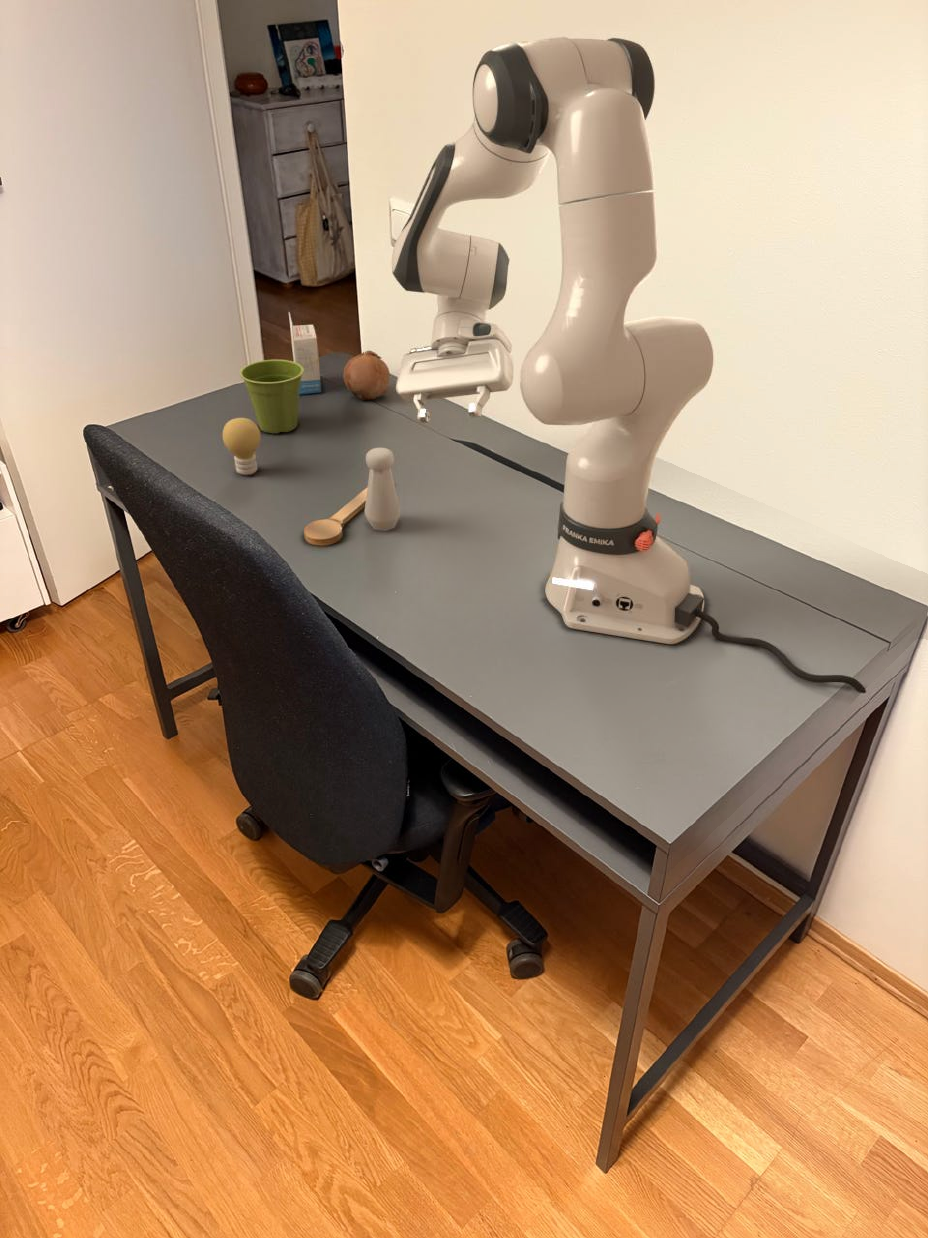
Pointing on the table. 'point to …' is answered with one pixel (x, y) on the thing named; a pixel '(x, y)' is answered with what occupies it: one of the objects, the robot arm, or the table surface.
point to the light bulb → (242, 443)
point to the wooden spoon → (334, 523)
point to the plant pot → (274, 393)
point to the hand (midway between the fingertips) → (448, 418)
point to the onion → (366, 376)
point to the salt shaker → (381, 491)
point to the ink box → (306, 357)
